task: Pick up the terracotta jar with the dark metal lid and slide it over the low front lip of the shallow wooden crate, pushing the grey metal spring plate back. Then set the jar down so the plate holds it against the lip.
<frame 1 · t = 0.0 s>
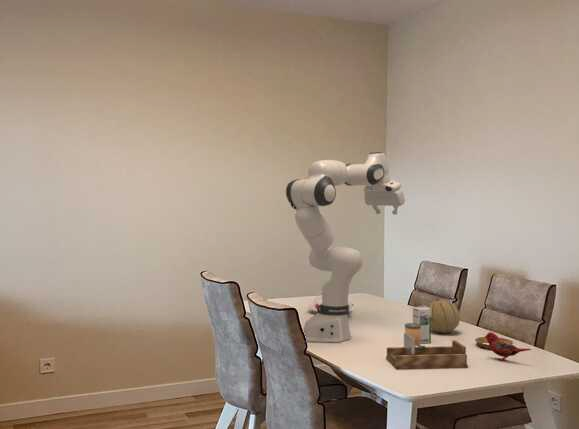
hand: (386, 213, 294), 52 cm above the table, tool tilted 20°, fingers open, 8 cm apart
jar: (412, 352, 246), on the table
decorative bird figurine: (506, 362, 234), on the table
crumpled cloth: (333, 314, 321), on the table
pusher: (416, 348, 230), point 6 cm above the table, slide at 0.0 cm
plant saucer: (493, 347, 256), on the table
syrup box: (421, 342, 263), on the table
shallow wooden crate: (425, 363, 230), on the table
cantaloupe: (442, 333, 281), on the table
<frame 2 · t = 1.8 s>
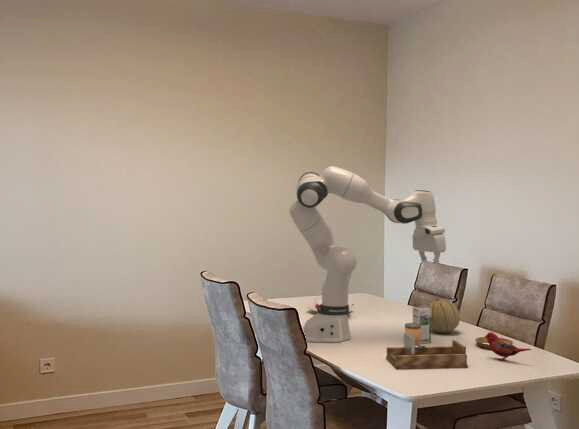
hand: (430, 262, 260), 34 cm above the table, tool pointing down, fingers open, 8 cm apart
nothing on the table moved.
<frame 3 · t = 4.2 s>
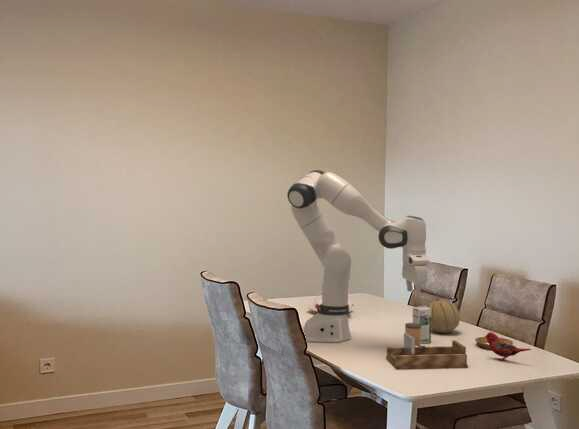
hand: (413, 293, 245), 23 cm above the table, tool pointing down, fingers open, 8 cm apart
nothing on the table moved.
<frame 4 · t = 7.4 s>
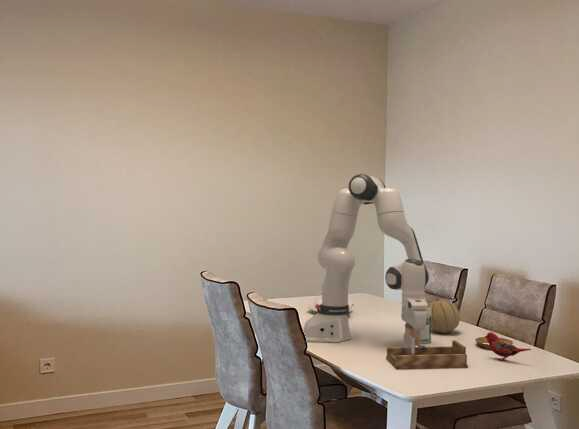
hand: (412, 336, 246), 6 cm above the table, tool pointing down, fingers closed on jar, 6 cm apart
jar: (412, 352, 246), on the table, touching gripper
everything else where it was.
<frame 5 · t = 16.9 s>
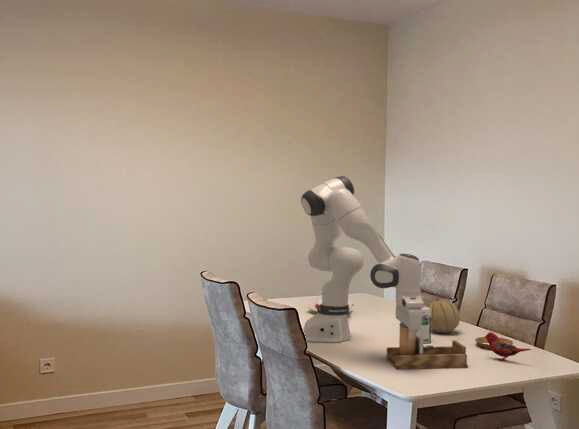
hand: (407, 336, 229), 10 cm above the table, tool pointing down, fingers closed on jar, 6 cm apart
jar: (407, 353, 229), point 4 cm above the table, touching gripper, pusher
pusher: (424, 347, 230), point 6 cm above the table, slide at 3.0 cm, touching jar
everything else where it was.
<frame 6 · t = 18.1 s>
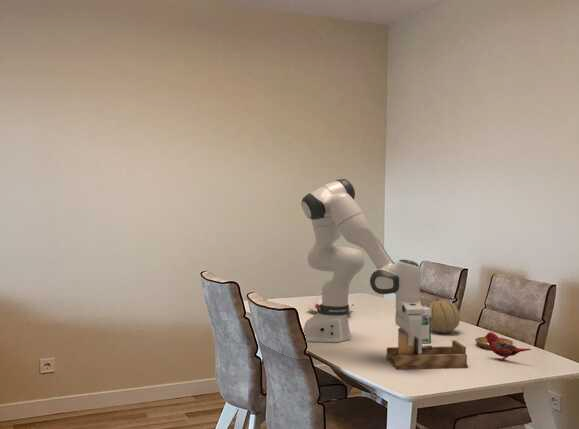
hand: (407, 342, 229), 8 cm above the table, tool pointing down, fingers closed on jar, 6 cm apart
jar: (406, 358, 229), point 2 cm above the table, touching gripper
pusher: (422, 347, 230), point 6 cm above the table, slide at 2.6 cm
everything else where it was.
when the fingers open (8 cm above the table, at t = 18.9 s): jar stays where it is, resting on shallow wooden crate, pusher.
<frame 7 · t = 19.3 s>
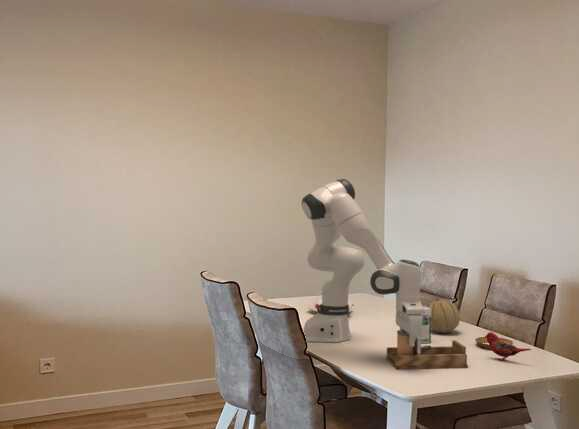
hand: (407, 342, 229), 8 cm above the table, tool pointing down, fingers open, 8 cm apart
jar: (405, 361, 230), point 1 cm above the table, touching shallow wooden crate, pusher
pusher: (422, 347, 230), point 6 cm above the table, slide at 2.2 cm, touching jar
everything else where it was.
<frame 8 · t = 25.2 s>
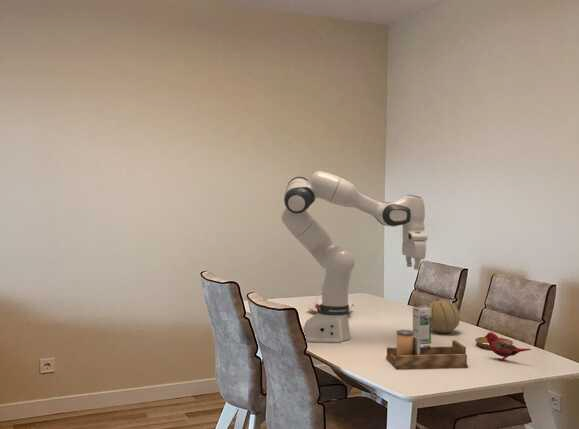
hand: (412, 268, 259), 31 cm above the table, tool pointing down, fingers open, 8 cm apart
nothing on the table moved.
at the end: jar 0.2 cm from the target spot on the shallow wooden crate, point 1.0 cm above the shallow wooden crate's base; jar tilted 0°; pusher slide at 2.0 cm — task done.
